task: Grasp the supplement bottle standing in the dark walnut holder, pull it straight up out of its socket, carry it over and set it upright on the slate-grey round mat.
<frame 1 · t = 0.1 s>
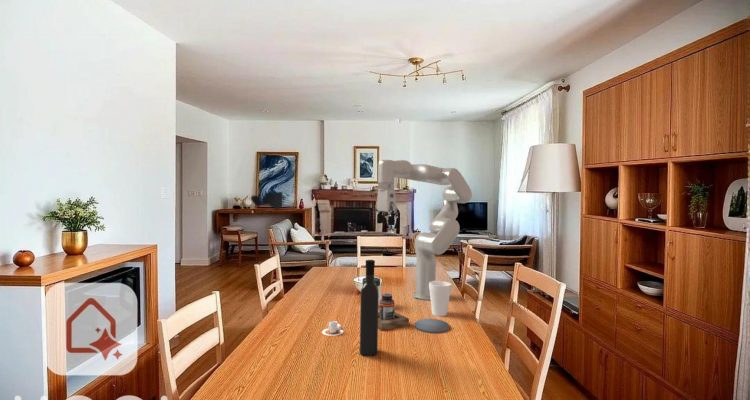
hand: (385, 224, 182), 37 cm above the table, tool pointing down, fingers open, 9 cm apart
wine bottle: (368, 352, 128), on the table
can holder: (386, 322, 156), on the table
jar: (371, 305, 179), on the table
supplement bottle: (386, 323, 156), resting in can holder
teacup and saucer: (341, 333, 146), on the table
foam cup: (439, 314, 169), on the table
slate mat: (431, 326, 153), on the table
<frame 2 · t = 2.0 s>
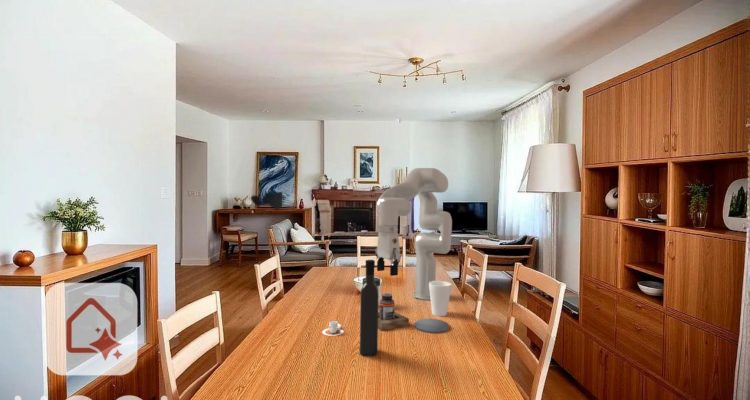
hand: (387, 272, 156), 20 cm above the table, tool pointing down, fingers open, 9 cm apart
nothing on the table moved.
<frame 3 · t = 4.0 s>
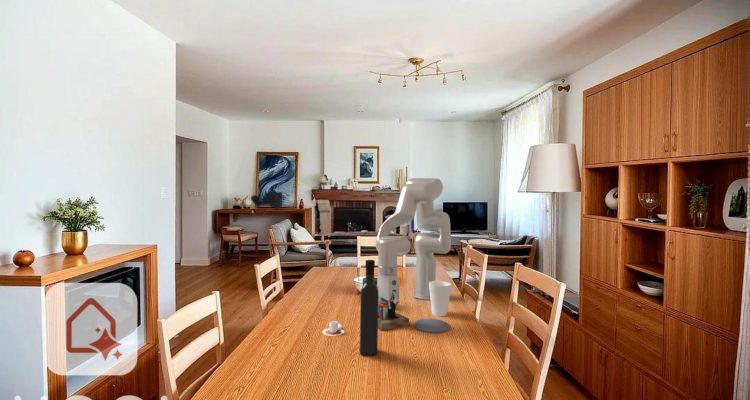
hand: (386, 315, 156), 3 cm above the table, tool pointing down, fingers closed on supplement bottle, 6 cm apart
supplement bottle: (386, 323, 156), resting in can holder, touching gripper
everything else where it was.
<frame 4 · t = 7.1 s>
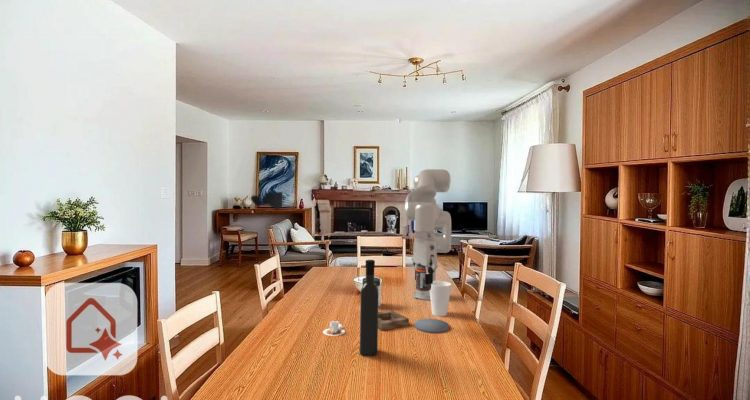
hand: (423, 281, 153), 17 cm above the table, tool pointing down, fingers closed on supplement bottle, 6 cm apart
supplement bottle: (423, 290, 153), point 14 cm above the table, touching gripper
everything else where it was.
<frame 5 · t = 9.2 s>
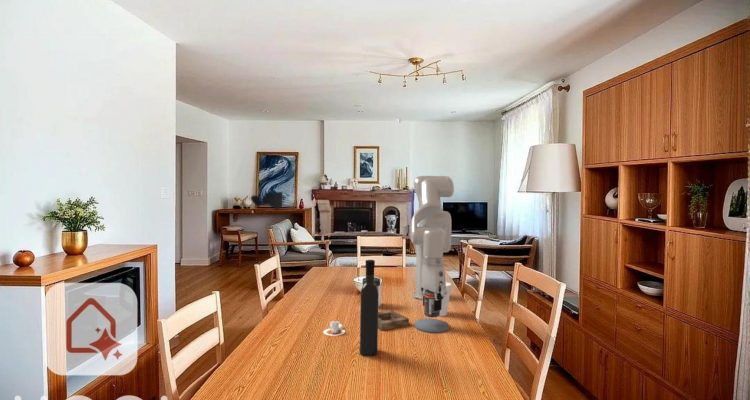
hand: (432, 307, 152), 8 cm above the table, tool pointing down, fingers closed on supplement bottle, 6 cm apart
supplement bottle: (431, 315, 152), point 4 cm above the table, touching gripper
everything else where it was.
when the fingers open (5 cm above the table, at t = 10.6 s): supplement bottle stays where it is, resting on slate mat.
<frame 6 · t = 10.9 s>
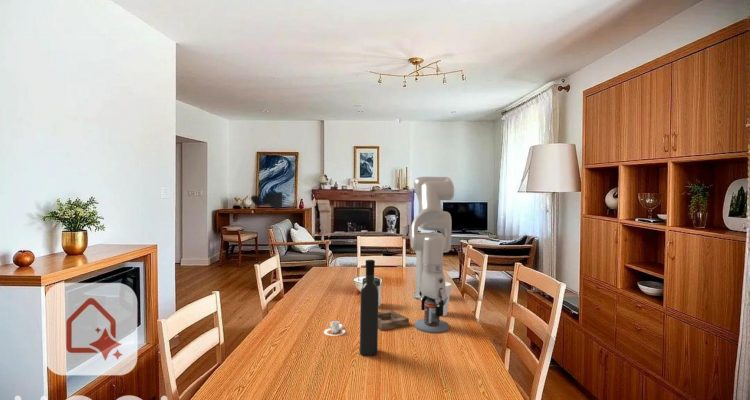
hand: (431, 312, 153), 6 cm above the table, tool pointing down, fingers open, 8 cm apart
supplement bottle: (431, 324, 153), point 1 cm above the table, touching slate mat
everything else where it was.
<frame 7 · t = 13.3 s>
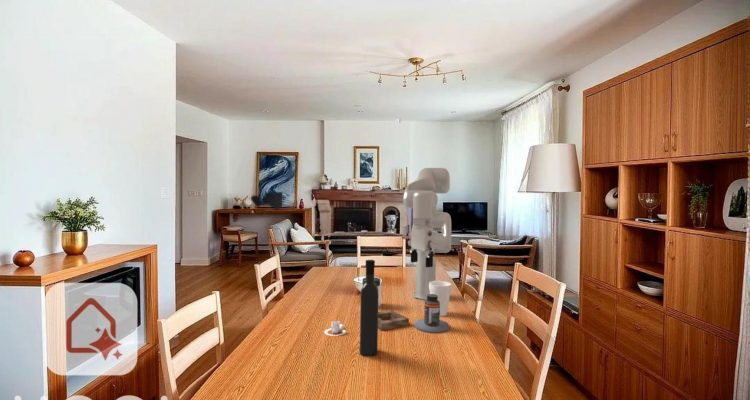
hand: (421, 264, 160), 23 cm above the table, tool pointing down, fingers open, 9 cm apart
nothing on the table moved.
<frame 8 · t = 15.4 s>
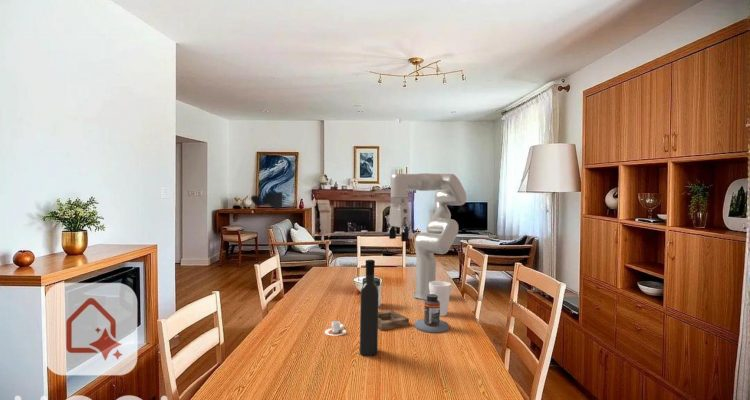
hand: (398, 239, 176), 30 cm above the table, tool pointing down, fingers open, 9 cm apart
at the end: supplement bottle inside the target area on the slate mat (0.1 cm from its centre), point 0.8 cm above the slate mat's base; supplement bottle tilted 0°; the gripper is holding nothing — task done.
